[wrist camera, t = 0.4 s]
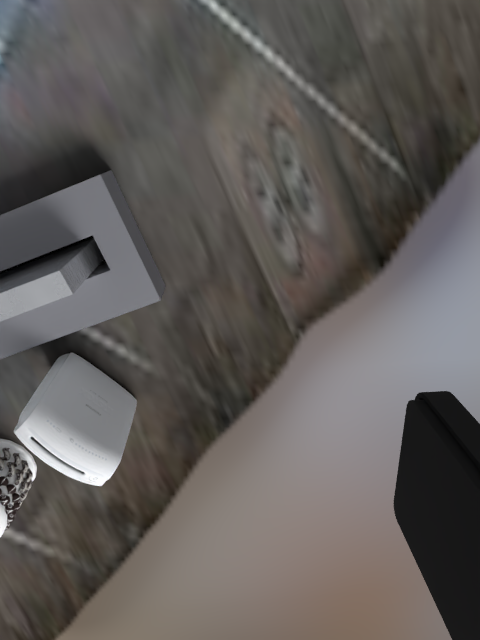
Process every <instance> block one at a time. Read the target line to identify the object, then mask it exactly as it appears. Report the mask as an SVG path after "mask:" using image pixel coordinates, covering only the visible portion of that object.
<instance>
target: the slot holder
mask: <svg viewBox="0 0 480 640" xmlns="http://www.w3.org/2000/svg"><path fill="white" fill-rule="evenodd" d="M92 235H93V237H94V239H95V241H96V243H97V245H98V247H99V249H100V251H101V253H102V255H103V257H104V259H105V261H106V263H105V264H103V265H100V266H97V267H96V269H95V270H94V271H93V272H92V273H91V274H90V275H89V277H88V278H87V279H86V280H85V281H84V282H83V283H82V285H81V286H80V287H79V288H78V289H77V290H76V291H75V292H74V294H72V295H70V296H67V297H64V298H62V299H59V300H56V301H54V302H51V303H48V304H46V305H43V306H40V307H38V308H35V309H32V310H30V311H27V312H24V313H22V314H19V315H16V316H14V317H11V318H8V319H6V320H3V321H1V322H0V359H2V358H5V357H7V356H10V355H13V354H16V353H18V352H21V351H24V350H27V349H29V348H32V347H35V346H37V345H40V344H43V343H46V342H48V341H51V340H54V339H57V338H59V337H62V336H65V335H68V334H70V333H73V332H76V331H78V330H81V329H84V328H87V327H89V326H92V325H95V324H98V323H100V322H103V321H106V320H109V319H111V318H114V317H117V316H119V315H122V314H125V313H128V312H130V311H133V310H136V309H139V308H141V307H144V306H147V305H150V304H152V303H155V302H158V301H160V300H161V298H162V295H163V292H164V290H165V287H166V285H165V283H164V281H163V279H162V277H161V275H160V273H159V271H158V268H157V266H156V264H155V262H154V260H153V258H152V256H151V253H150V251H149V249H148V247H147V245H146V243H145V241H144V239H143V236H142V234H141V232H140V230H139V228H138V226H137V224H136V221H135V219H134V217H133V215H132V213H131V211H130V209H129V207H128V204H127V202H126V200H125V198H124V196H123V194H122V192H121V189H120V187H119V185H118V183H117V181H116V179H115V177H114V175H113V172H112V170H110V171H107V172H105V173H103V174H100V175H98V176H95V177H93V178H90V179H88V180H85V181H83V182H80V183H78V184H75V185H73V186H71V187H68V188H66V189H63V190H61V191H58V192H56V193H53V194H51V195H48V196H46V197H44V198H41V199H39V200H36V201H34V202H31V203H29V204H26V205H24V206H21V207H19V208H16V209H14V210H12V211H9V212H7V213H4V214H2V215H0V271H3V270H5V269H8V268H10V267H13V266H15V265H18V264H21V263H23V262H26V261H28V260H31V259H33V258H36V257H39V256H41V255H44V254H46V253H49V252H51V251H54V250H56V249H59V248H62V247H64V246H67V245H69V244H72V243H74V242H77V241H79V240H82V239H85V238H87V237H90V236H92Z"/></svg>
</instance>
